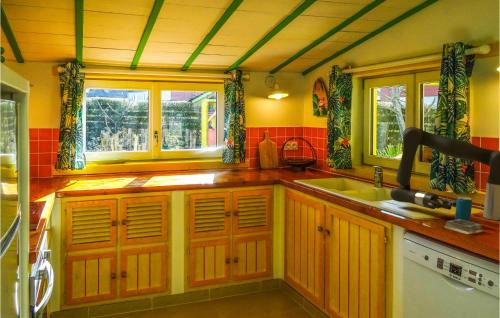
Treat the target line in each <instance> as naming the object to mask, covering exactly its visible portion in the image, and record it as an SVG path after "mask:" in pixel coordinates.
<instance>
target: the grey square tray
mask: <svg viewBox="0 0 500 318" xmlns="http://www.w3.org/2000/svg"><path fill="white" fill-rule="evenodd" d="M482 225H483V224H480V223H476V222H473V221H471V220H470V221H466V220H462V219H458V220H455V219H453V220H446V223H445V225H444V229H448V230H450V231H451V230H452V231H455V232H458V233H462V234H466V235H472V234H477V233H481V232H484V229H482Z"/></svg>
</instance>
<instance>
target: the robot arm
mask: <svg viewBox="0 0 500 318" xmlns="http://www.w3.org/2000/svg"><path fill="white" fill-rule="evenodd" d="M402 145H403V146H402V154H401V158H400V162H399V165H398V169H397V173H396V178H395V179H396V180H395V181H396V183H397V184H399V187H394V188H392V189H391V190H390V193H389V196H390V198H391V199H392V200H393V201H394V202H397V203H398V202H399V203H406V204H407V203H408V204H412V205H416V206H419V207H423V208H426V209H430V210H436V209H442V210H443V209H444V210H449V211H450V210H452V208H456V202H457V200H452V199H447V198H440V197H439V195H438V194H436V193H431V192H427V191H420V190H415V189H412V188H411V187H412V186H411V180H412V179H411V178H412V174H413V168H414V162H415V158H416V154H417V151H418V149H419V146H421V147H422V146H424V147H427V148H430V149H432V150H434V151H436V152H438V153H439V154H442V155H445V156H447V157H451V158H456V159H460V160H465V161H473V162H477V163H479V164H483V165H485V166H488V167H489V174H488V176H487V178H486V187H485V196H484V202H483V203H484V204H483V214H482V217H483V218H484V219H489V220H493V221H500V150H495V149H491V148H489V149H488V148H485V147H481V146H478V145H476V144H473V143H470V142H467V141H465V140H461V139H459V138H454V137H450V136H446V135H442V134H437V133H432V132H429V131H426V130H424V129H421V128H418V127H417V126H409V127H407V128H405V129H404V131H403V133H402Z"/></svg>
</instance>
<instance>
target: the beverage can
mask: <svg viewBox="0 0 500 318" xmlns="http://www.w3.org/2000/svg"><path fill="white" fill-rule="evenodd" d="M456 201H457V202H456V207H455V210H454V211H455V213H454V220H458V219H462V220H466V221H470V222H471V216H472V208H473V201H472V198H471V197H466V196H458V197H457V199H456Z"/></svg>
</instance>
